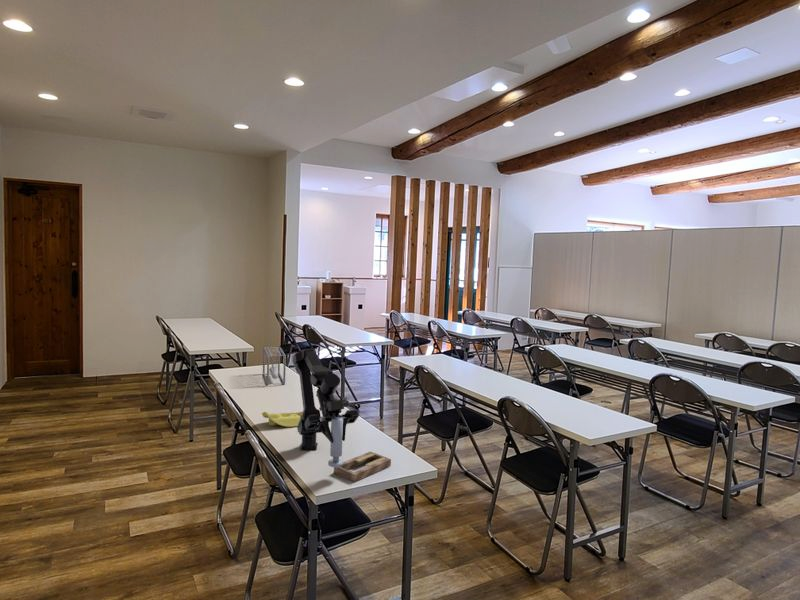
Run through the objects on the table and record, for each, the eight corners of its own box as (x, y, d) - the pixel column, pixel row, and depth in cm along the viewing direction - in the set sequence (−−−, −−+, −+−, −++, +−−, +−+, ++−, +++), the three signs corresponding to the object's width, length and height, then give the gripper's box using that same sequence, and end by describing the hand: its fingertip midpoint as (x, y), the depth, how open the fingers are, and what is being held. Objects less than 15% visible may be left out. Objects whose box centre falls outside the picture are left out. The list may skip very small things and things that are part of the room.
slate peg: (327, 461, 179) (328, 417, 177) (342, 460, 180) (343, 416, 178) (328, 467, 173) (330, 421, 172) (344, 466, 175) (345, 421, 173)
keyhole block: (354, 482, 174) (354, 474, 174) (333, 472, 181) (333, 465, 180) (390, 465, 189) (391, 459, 188) (370, 458, 195) (370, 451, 195)
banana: (301, 412, 240) (308, 408, 232) (302, 428, 238) (309, 425, 230) (259, 414, 230) (265, 410, 222) (259, 431, 228) (266, 428, 220)
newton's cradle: (285, 385, 297) (285, 355, 296) (266, 386, 294) (267, 355, 292) (279, 373, 325) (280, 346, 324) (262, 374, 322) (263, 346, 320)
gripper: (308, 392, 173) (319, 434, 165) (358, 387, 182) (370, 427, 174) (300, 408, 181) (309, 449, 172) (348, 402, 190) (359, 441, 181)
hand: (338, 441), depth 175 cm, fingers closed on slate peg, 4 cm apart
